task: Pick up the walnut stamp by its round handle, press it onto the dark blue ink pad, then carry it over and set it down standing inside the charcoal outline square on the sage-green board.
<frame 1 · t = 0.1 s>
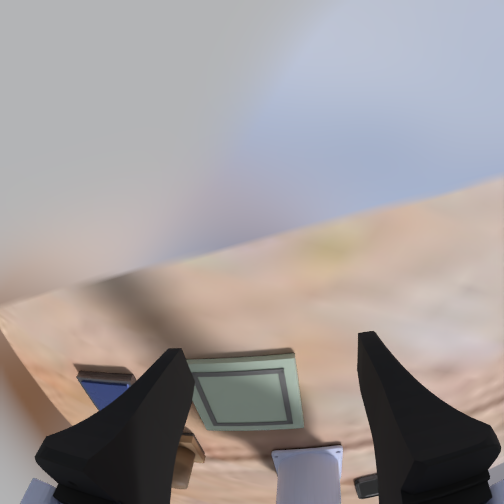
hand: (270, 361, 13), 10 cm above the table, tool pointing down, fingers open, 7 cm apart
stamp: (185, 442, 33), on the table
ink pad: (120, 398, 30), on the table
target board: (245, 396, 28), on the table
phone: (405, 473, 35), on the table
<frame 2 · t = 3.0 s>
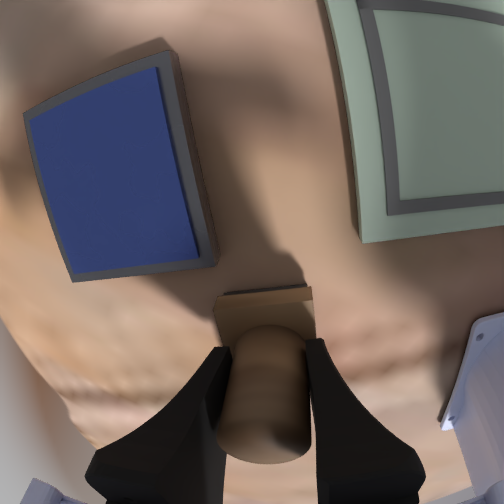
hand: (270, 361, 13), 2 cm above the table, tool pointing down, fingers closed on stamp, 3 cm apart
stamp: (272, 331, 14), on the table, touching gripper
ink pad: (117, 175, 12), on the table
target board: (465, 103, 9), on the table
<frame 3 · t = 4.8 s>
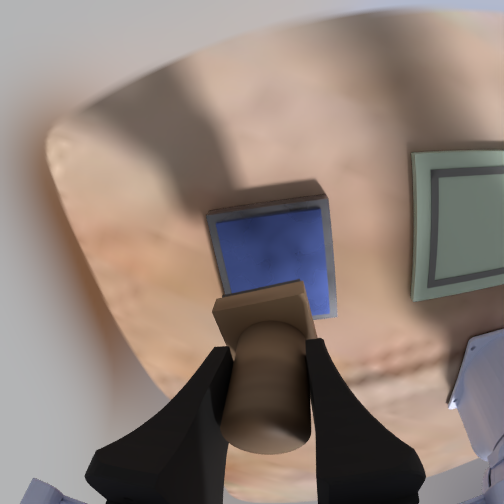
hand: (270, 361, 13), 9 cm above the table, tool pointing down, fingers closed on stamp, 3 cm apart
stamp: (273, 327, 15), point 6 cm above the table, touching gripper
ink pad: (277, 262, 21), on the table
target board: (476, 223, 18), on the table
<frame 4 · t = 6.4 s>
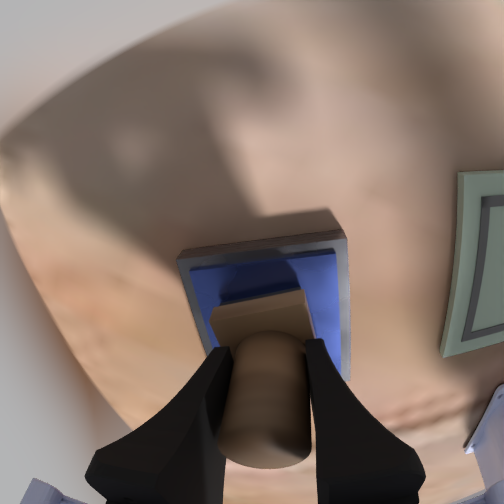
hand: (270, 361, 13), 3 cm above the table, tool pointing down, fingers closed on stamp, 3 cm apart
stamp: (273, 336, 14), point 1 cm above the table, touching gripper, ink pad
ink pad: (274, 317, 15), on the table
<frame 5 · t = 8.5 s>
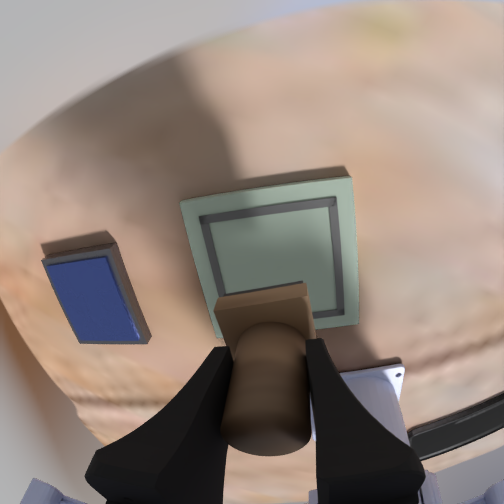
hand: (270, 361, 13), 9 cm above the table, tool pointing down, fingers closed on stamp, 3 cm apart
stamp: (273, 328, 15), point 6 cm above the table, touching gripper
ink pad: (97, 295, 23), on the table
target board: (277, 264, 20), on the table
phone: (463, 423, 27), on the table
when the fingers open (3 cm above the table, at t = 10.1 s): stamp stays where it is, resting on target board.
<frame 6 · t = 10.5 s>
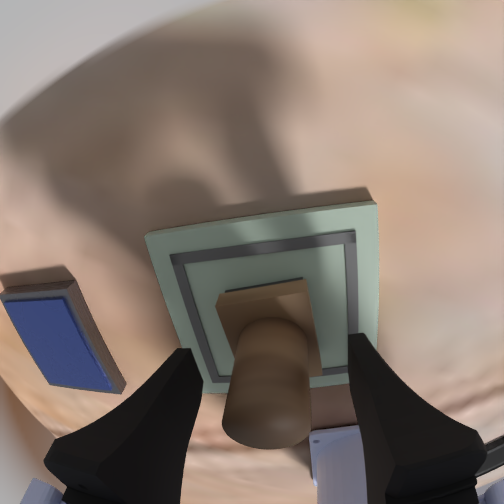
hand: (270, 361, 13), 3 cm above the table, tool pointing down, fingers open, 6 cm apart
stamp: (274, 324, 15), point 1 cm above the table, touching target board
ink pad: (62, 337, 18), on the table
target board: (274, 313, 16), on the table
phone: (476, 457, 23), on the table
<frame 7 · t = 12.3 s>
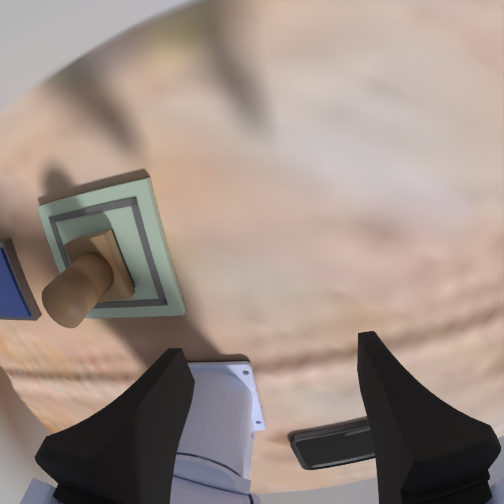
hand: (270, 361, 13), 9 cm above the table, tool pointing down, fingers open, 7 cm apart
stamp: (105, 262, 22), point 1 cm above the table, touching target board
ink pad: (5, 280, 25), on the table
target board: (108, 256, 22), on the table
phone: (363, 435, 29), on the table
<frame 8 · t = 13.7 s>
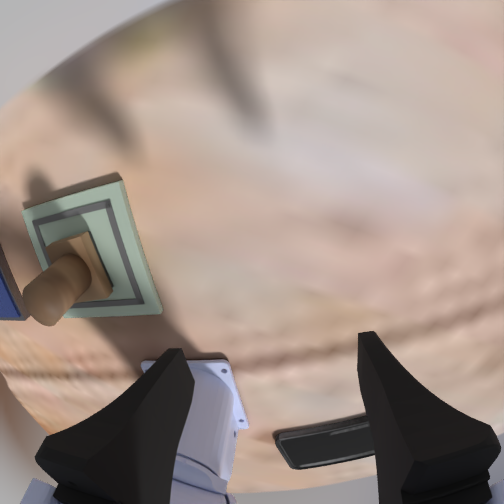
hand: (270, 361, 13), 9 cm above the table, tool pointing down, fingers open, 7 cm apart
stamp: (84, 263, 22), point 1 cm above the table, touching target board
target board: (87, 257, 22), on the table
phone: (350, 435, 29), on the table
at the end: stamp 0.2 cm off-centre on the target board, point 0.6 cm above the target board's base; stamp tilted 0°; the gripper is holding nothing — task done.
